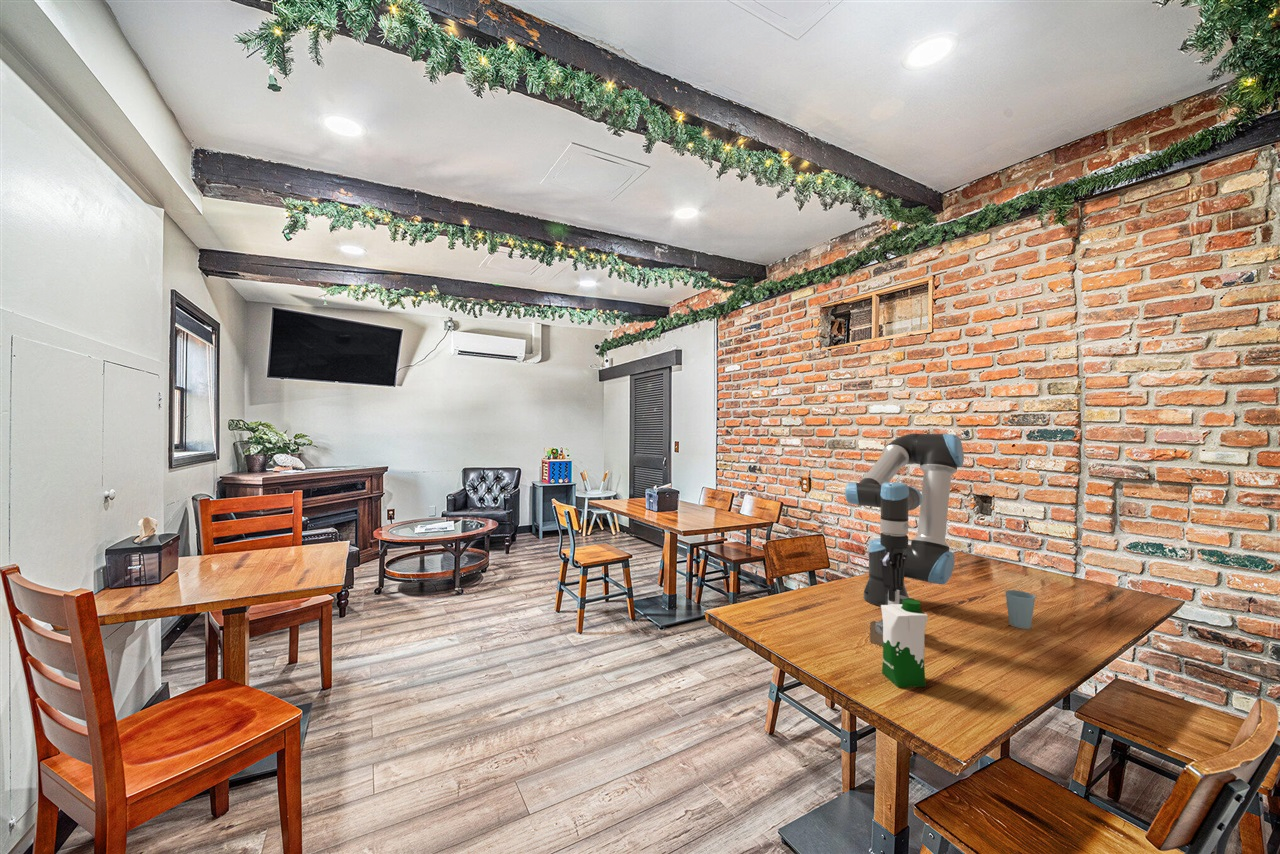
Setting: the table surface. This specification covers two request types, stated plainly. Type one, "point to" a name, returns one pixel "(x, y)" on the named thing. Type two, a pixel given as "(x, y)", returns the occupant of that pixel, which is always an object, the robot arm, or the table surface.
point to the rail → (876, 632)
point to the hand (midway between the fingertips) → (893, 610)
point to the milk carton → (904, 643)
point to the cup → (1020, 608)
